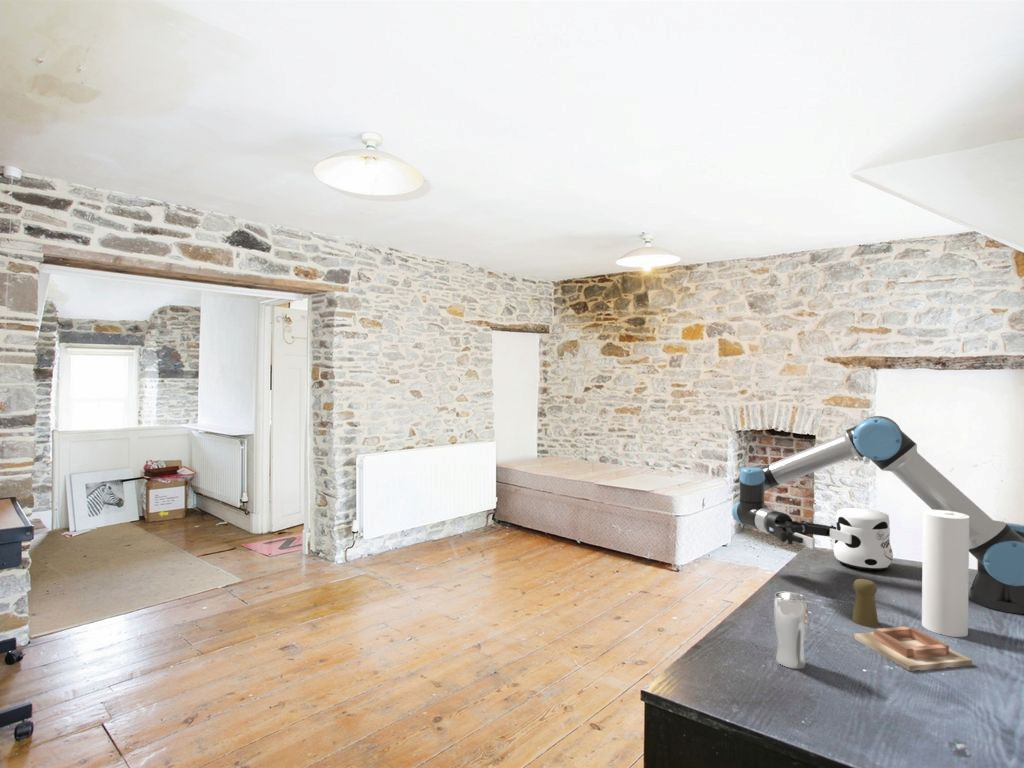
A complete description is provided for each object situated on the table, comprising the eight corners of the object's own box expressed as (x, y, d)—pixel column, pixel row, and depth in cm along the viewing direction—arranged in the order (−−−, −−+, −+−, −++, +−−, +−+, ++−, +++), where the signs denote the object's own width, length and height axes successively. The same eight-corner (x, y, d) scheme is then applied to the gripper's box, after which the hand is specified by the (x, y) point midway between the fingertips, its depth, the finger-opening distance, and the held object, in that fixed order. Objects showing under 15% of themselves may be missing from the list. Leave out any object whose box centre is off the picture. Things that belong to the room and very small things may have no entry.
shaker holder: (910, 633, 142) (910, 620, 142) (971, 665, 127) (971, 651, 127) (854, 638, 140) (854, 625, 140) (909, 671, 124) (909, 657, 124)
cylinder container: (976, 638, 140) (978, 517, 139) (934, 635, 141) (935, 515, 141) (954, 622, 149) (955, 508, 149) (914, 619, 151) (915, 507, 150)
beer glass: (794, 673, 124) (794, 604, 123) (766, 659, 130) (766, 594, 130) (814, 665, 127) (814, 598, 127) (786, 652, 133) (787, 588, 133)
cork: (876, 619, 151) (876, 578, 151) (880, 628, 145) (880, 585, 145) (850, 615, 153) (850, 575, 153) (853, 624, 148) (853, 582, 148)
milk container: (904, 574, 186) (905, 519, 185) (851, 574, 186) (851, 519, 186) (872, 557, 203) (872, 507, 203) (823, 557, 203) (823, 507, 203)
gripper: (804, 531, 183) (865, 550, 163) (742, 538, 174) (797, 559, 154) (804, 507, 183) (865, 524, 163) (742, 513, 174) (797, 531, 154)
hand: (832, 541), depth 158 cm, fingers open, 13 cm apart
